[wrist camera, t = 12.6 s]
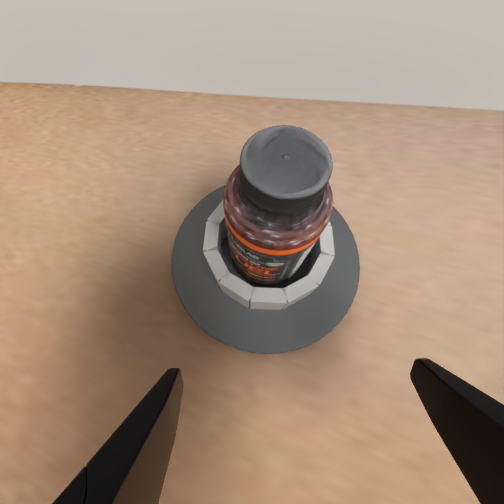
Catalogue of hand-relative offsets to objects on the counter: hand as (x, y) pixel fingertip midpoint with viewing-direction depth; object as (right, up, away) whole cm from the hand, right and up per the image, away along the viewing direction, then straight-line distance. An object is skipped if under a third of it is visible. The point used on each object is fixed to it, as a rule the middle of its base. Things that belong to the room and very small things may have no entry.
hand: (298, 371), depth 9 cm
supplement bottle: (-1, +4, +12) cm, 12 cm away
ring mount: (-1, +4, +12) cm, 13 cm away
